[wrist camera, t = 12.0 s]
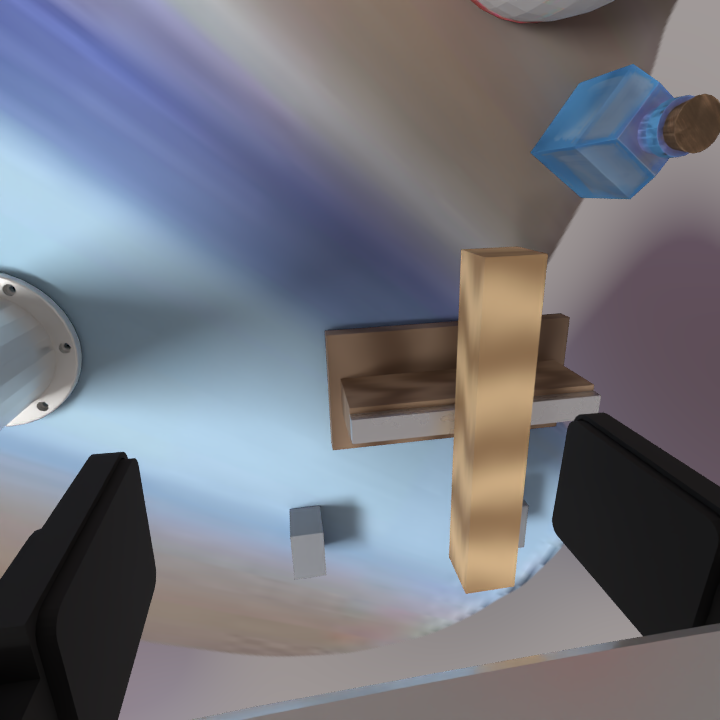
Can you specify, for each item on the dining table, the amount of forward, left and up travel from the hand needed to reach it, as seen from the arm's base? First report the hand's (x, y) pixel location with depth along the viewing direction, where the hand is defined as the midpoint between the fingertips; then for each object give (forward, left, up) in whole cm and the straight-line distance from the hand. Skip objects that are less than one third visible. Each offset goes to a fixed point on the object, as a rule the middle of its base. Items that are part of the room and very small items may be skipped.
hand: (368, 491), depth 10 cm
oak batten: (+12, -11, -23) cm, 28 cm away
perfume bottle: (+23, +9, -31) cm, 40 cm away
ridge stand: (+12, -11, -31) cm, 35 cm away
